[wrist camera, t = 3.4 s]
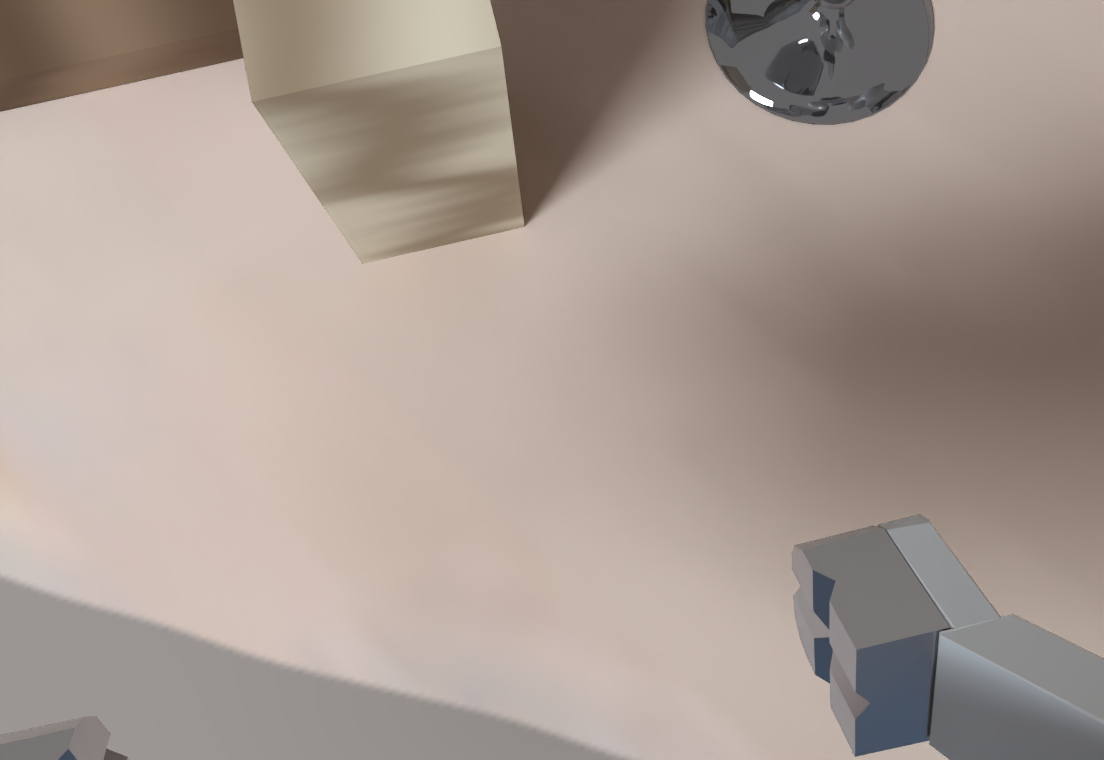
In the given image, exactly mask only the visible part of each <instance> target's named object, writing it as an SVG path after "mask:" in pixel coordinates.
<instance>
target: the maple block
mask: <svg viewBox="0 0 1104 760" xmlns="http://www.w3.org/2000/svg"><path fill="white" fill-rule="evenodd" d="M233 2H234V8H235V13H236V19H237V24H238V29H239V35H240V40H241V46H242V51H243V56H244V62H245V67H246V73H247V78H248V83H249V89H250V94H251V100H252V103H253V104H254V106H255V107H256V109H257V110H258V111H259V113H260V114H261V116H262V117H263V119H264V120H265V122H266V123H267V125H268V126H269V128H270V129H271V131H272V132H273V134H274V135H275V136H276V138H277V139H278V141H279V142H280V144H281V145H282V147H283V148H284V150H285V151H286V153H287V154H288V156H289V157H290V159H291V160H292V161H293V163H294V164H295V166H296V167H297V169H298V170H299V172H300V173H301V175H302V176H303V178H304V179H305V181H306V182H307V184H308V185H309V186H310V188H311V189H312V191H313V192H314V194H315V195H316V197H317V198H318V200H319V201H320V203H321V204H322V206H323V207H324V209H325V210H326V211H327V213H328V214H329V216H330V217H331V219H332V220H333V222H334V223H335V225H336V226H337V228H338V229H339V231H340V232H341V234H342V235H343V236H344V238H345V239H346V241H347V242H348V244H349V245H350V247H351V248H352V250H353V251H354V253H355V254H356V256H357V257H358V259H359V260H360V261H361V263H362V264H363V263H367V262H372V261H376V260H381V259H385V258H389V257H394V256H398V255H403V254H407V253H411V252H416V251H420V250H424V249H429V248H433V247H438V246H442V245H446V244H451V243H455V242H460V241H464V240H468V239H473V238H477V237H482V236H486V235H490V234H495V233H499V232H503V231H508V230H512V229H517V228H521V227H525V226H524V218H523V210H522V202H521V195H520V187H519V179H518V171H517V164H516V156H515V148H514V140H513V132H512V125H511V117H510V109H509V101H508V94H507V86H506V78H505V70H504V63H503V55H502V47H501V43H500V38H499V34H498V30H497V26H496V22H495V18H494V14H493V10H492V6H491V2H490V0H233Z"/></svg>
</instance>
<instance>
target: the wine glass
mask: <svg viewBox="0 0 1104 760" xmlns="http://www.w3.org/2000/svg"><path fill="white" fill-rule="evenodd" d="M705 15H706V31H707V36H708V41H709V46H710V48H711V50H712V53H713V55H714V58H715V60H716V62H717V64H718V66H719V67H720V69H721V70H722V72H723V73H724V75H725V76H726V78H727V79H728V80H729V81H730V82H731V83H732V85H733V86H734V87H735V88H736V89H737V90H738V91H739V92H740V93H741V94H742V95H744V96H745V97H746V98H748V99H749V100H750V101H751V102H753V103H754V104H755V105H757V106H759V107H761V108H763V109H765V110H766V111H768V112H770V113H772V114H774V115H777V116H780V117H783V118H786V119H789V120H792V121H796V122H802V123H808V124H821V125H834V124H841V123H848V122H854V121H857V120H860V119H863V118H866V117H869V116H872V115H874V114H876V113H878V112H880V111H881V110H883V109H885V108H887V107H889V106H890V105H892V104H893V103H894V102H895V101H897V100H898V99H899V98H901V97H902V96H903V95H904V94H905V93H906V92H907V91H908V90H909V89H910V87H911V86H912V85H913V84H914V83H915V82H916V81H917V79H918V77H919V75H920V74H921V72H922V70H923V69H924V67H925V65H926V62H927V60H928V57H929V54H930V51H931V48H932V41H933V34H934V21H933V9H932V5H931V2H930V0H707V3H706V9H705Z"/></svg>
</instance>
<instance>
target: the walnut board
mask: <svg viewBox="0 0 1104 760" xmlns="http://www.w3.org/2000/svg"><path fill="white" fill-rule="evenodd" d="M240 58H244V56H243V51H242V46H241V40H240V35H239V29H238V24H237V19H236V13H235V8H234V2H233V0H0V111H5V110H9V109H14V108H18V107H23V106H27V105H32V104H36V103H41V102H45V101H50V100H54V99H59V98H63V97H68V96H72V95H77V94H82V93H86V92H91V91H95V90H100V89H104V88H109V87H113V86H118V85H122V84H127V83H131V82H136V81H140V80H145V79H149V78H154V77H158V76H163V75H168V74H172V73H177V72H181V71H186V70H190V69H195V68H199V67H204V66H208V65H213V64H217V63H222V62H226V61H231V60H235V59H240Z"/></svg>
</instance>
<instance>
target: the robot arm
mask: <svg viewBox="0 0 1104 760" xmlns="http://www.w3.org/2000/svg"><path fill="white" fill-rule="evenodd" d="M792 570H793V572H794V574H795V576H796V578H797V580H798V582H799V584H800V588H799V589H798V590H797V592H796V593H795V595H794V596H793V599H794V611H795V619H796V623H797V628H798V632H799V636H800V640H801V643H802V645H803V648H804V651H805V653H806V656H807V658H808V660H809V663H810V665H811V667H812V669H813V671H814V673H815V675H817V676H818V677H820V678H821V679H823V680H825V681H826V682H828V683H830V704H831V709H832V711H833V713H834V715H835V717H836V719H837V721H838V723H839V725H840V727H841V729H842V731H843V733H844V735H845V737H846V739H847V741H848V743H849V745H850V747H851V749H852V751H853V754H854V756H855V757H856V756H860V755H865V754H870V753H874V752H879V751H883V750H888V749H892V748H897V747H902V746H906V745H911V744H915V743H920V742H925V741H929V740H930V743H929V745H931V746H932V747H934V748H935V749H936V750H938V751H939V752H940V753H942V754H943V755H944V756H946V757H947V758H948V759H950V760H1104V658H1102V657H1100V656H1098V655H1096V654H1093V653H1091V652H1089V651H1087V650H1085V649H1083V648H1081V647H1079V646H1077V645H1075V644H1073V643H1071V642H1069V641H1067V640H1065V639H1063V638H1061V637H1059V636H1057V635H1055V634H1053V633H1051V632H1049V631H1047V630H1045V629H1043V628H1041V627H1039V626H1037V625H1035V624H1033V623H1031V622H1028V621H1026V620H1024V619H1022V618H1020V617H1018V616H1016V615H1014V614H1013V615H1008V616H1004V617H1001V616H1000V615H999V614H998V612H997V611H996V610H995V608H994V607H993V606H992V604H991V603H990V602H989V600H988V599H987V598H986V596H985V595H984V594H983V592H982V591H981V590H980V588H979V587H978V586H977V584H976V583H975V582H974V580H973V579H972V577H971V576H970V575H969V573H968V572H967V571H966V569H965V568H964V567H963V565H962V564H961V563H960V561H959V560H958V559H957V557H956V556H955V555H954V553H953V552H952V551H951V549H950V548H949V547H948V545H947V544H946V543H945V541H944V540H943V538H942V537H941V536H940V534H939V533H938V532H937V530H936V529H935V528H934V526H933V525H932V524H931V522H930V521H929V520H928V519H927V518H925V517H923V516H922V515H916V516H912V517H907V518H903V519H899V520H895V521H891V522H887V523H883V524H879V525H877V526H870V527H866V528H862V529H858V530H854V531H850V532H846V533H842V534H838V535H834V536H830V537H826V538H822V539H818V540H814V541H810V542H806V543H802V544H798V545H794V548H793V551H792ZM109 737H110V732H109V731H108V730H107V728H106V727H105V726H104V725H103V724H102V722H101V721H100V720H99V719H98V717H97V716H90V717H82V718H77V719H72V720H67V721H63V722H58V723H53V724H49V725H44V726H39V727H35V728H30V729H26V730H21V731H16V732H11V733H7V734H2V735H0V760H129V759H128V757H126V756H124V755H121V754H119V753H116V752H113V751H111V750H109V749H106V748H107V744H108V741H109Z"/></svg>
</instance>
